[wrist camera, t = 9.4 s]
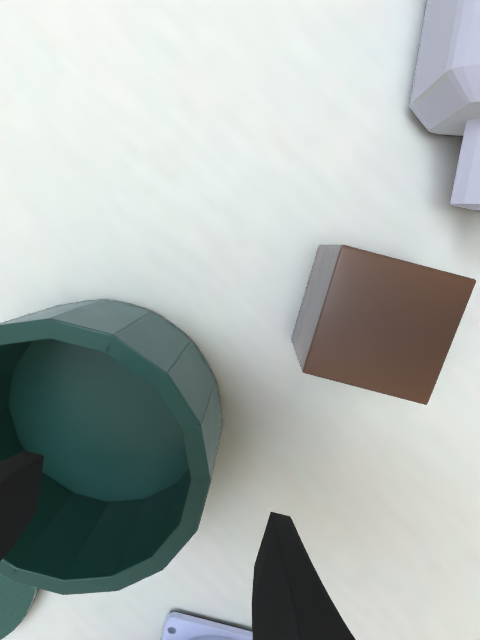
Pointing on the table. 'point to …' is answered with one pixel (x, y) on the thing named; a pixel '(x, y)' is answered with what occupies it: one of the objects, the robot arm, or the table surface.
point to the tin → (106, 442)
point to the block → (378, 321)
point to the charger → (452, 87)
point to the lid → (13, 604)
